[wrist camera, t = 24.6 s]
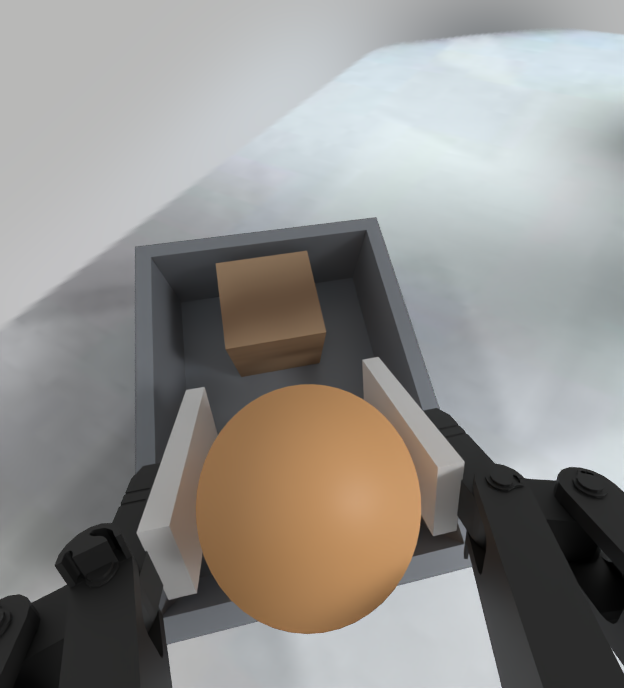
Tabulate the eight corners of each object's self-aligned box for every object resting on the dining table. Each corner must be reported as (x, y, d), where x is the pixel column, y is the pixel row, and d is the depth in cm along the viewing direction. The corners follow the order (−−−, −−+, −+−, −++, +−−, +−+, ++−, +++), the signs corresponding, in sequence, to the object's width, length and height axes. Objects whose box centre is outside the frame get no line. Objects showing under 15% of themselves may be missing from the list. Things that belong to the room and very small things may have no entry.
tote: (173, 300, 23) (135, 246, 18) (358, 274, 25) (376, 217, 19) (187, 593, 17) (136, 652, 12) (432, 535, 19) (490, 562, 13)
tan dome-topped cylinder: (280, 420, 20) (261, 352, 8) (358, 457, 19) (446, 435, 8) (240, 505, 18) (148, 561, 7) (324, 548, 17) (376, 685, 6)
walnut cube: (232, 306, 22) (215, 263, 18) (304, 295, 23) (306, 250, 18) (241, 377, 20) (225, 349, 16) (319, 363, 21) (326, 332, 16)
